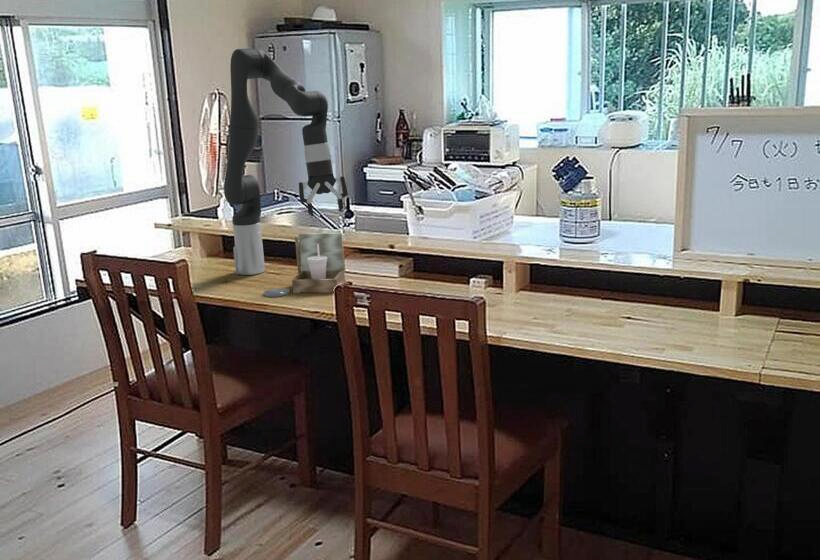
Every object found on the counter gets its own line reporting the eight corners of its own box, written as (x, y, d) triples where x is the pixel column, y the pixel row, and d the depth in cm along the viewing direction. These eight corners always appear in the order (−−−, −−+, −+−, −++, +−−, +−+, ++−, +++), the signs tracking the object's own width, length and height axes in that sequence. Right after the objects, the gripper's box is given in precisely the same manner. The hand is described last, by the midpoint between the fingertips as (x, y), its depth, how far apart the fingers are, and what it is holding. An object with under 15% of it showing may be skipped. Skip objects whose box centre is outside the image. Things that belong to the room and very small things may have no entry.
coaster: (260, 297, 247) (260, 295, 247) (268, 290, 255) (268, 288, 255) (286, 297, 246) (285, 295, 246) (292, 289, 254) (292, 288, 254)
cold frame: (289, 292, 251) (284, 242, 247) (299, 282, 263) (295, 233, 259) (337, 292, 249) (333, 241, 245) (345, 281, 261) (341, 232, 257)
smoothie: (328, 289, 252) (325, 245, 249) (308, 290, 252) (304, 246, 249) (330, 284, 258) (327, 241, 255) (310, 285, 259) (307, 242, 255)
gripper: (340, 156, 245) (348, 209, 248) (293, 163, 243) (302, 216, 245) (343, 156, 238) (351, 211, 240) (294, 163, 235) (303, 218, 238)
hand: (326, 213), depth 243 cm, fingers open, 8 cm apart
